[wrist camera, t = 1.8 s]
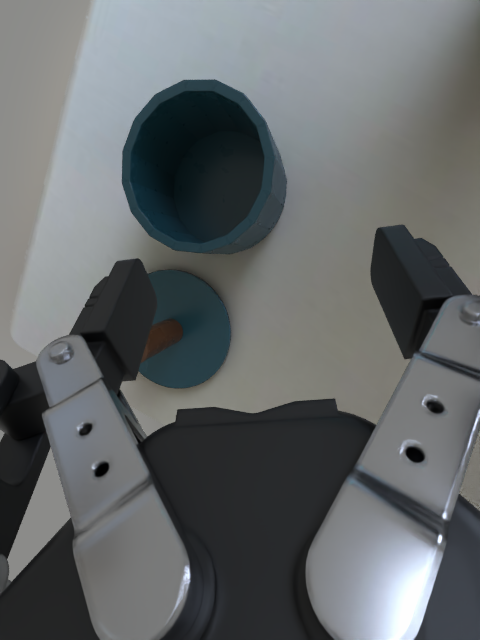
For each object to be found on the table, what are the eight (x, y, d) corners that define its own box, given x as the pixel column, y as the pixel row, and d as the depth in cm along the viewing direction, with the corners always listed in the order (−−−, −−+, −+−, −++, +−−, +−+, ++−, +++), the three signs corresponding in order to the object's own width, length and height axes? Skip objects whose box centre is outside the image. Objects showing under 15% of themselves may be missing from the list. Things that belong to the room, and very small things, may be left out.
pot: (200, 103, 30) (158, 51, 22) (310, 159, 29) (305, 123, 21) (152, 219, 33) (101, 207, 26) (249, 274, 32) (225, 280, 24)
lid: (150, 247, 34) (99, 244, 26) (254, 308, 32) (232, 324, 25) (108, 346, 37) (51, 370, 30) (200, 405, 36) (165, 446, 28)
